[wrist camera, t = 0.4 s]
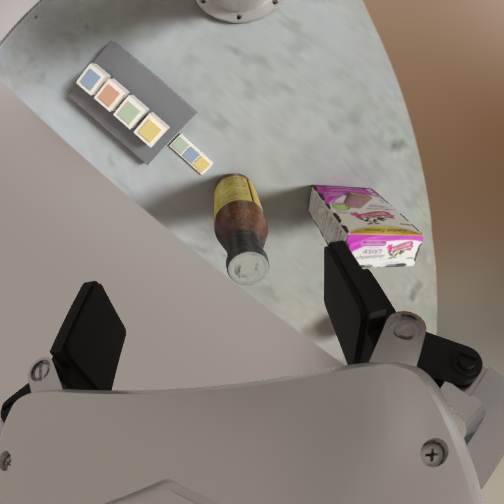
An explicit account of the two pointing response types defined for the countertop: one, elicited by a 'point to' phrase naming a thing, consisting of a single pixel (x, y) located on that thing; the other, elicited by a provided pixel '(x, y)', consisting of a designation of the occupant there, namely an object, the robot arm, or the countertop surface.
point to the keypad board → (143, 89)
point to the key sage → (131, 111)
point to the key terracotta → (111, 94)
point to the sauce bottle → (241, 229)
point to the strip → (191, 154)
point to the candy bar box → (365, 225)
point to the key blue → (93, 79)
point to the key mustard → (151, 129)
